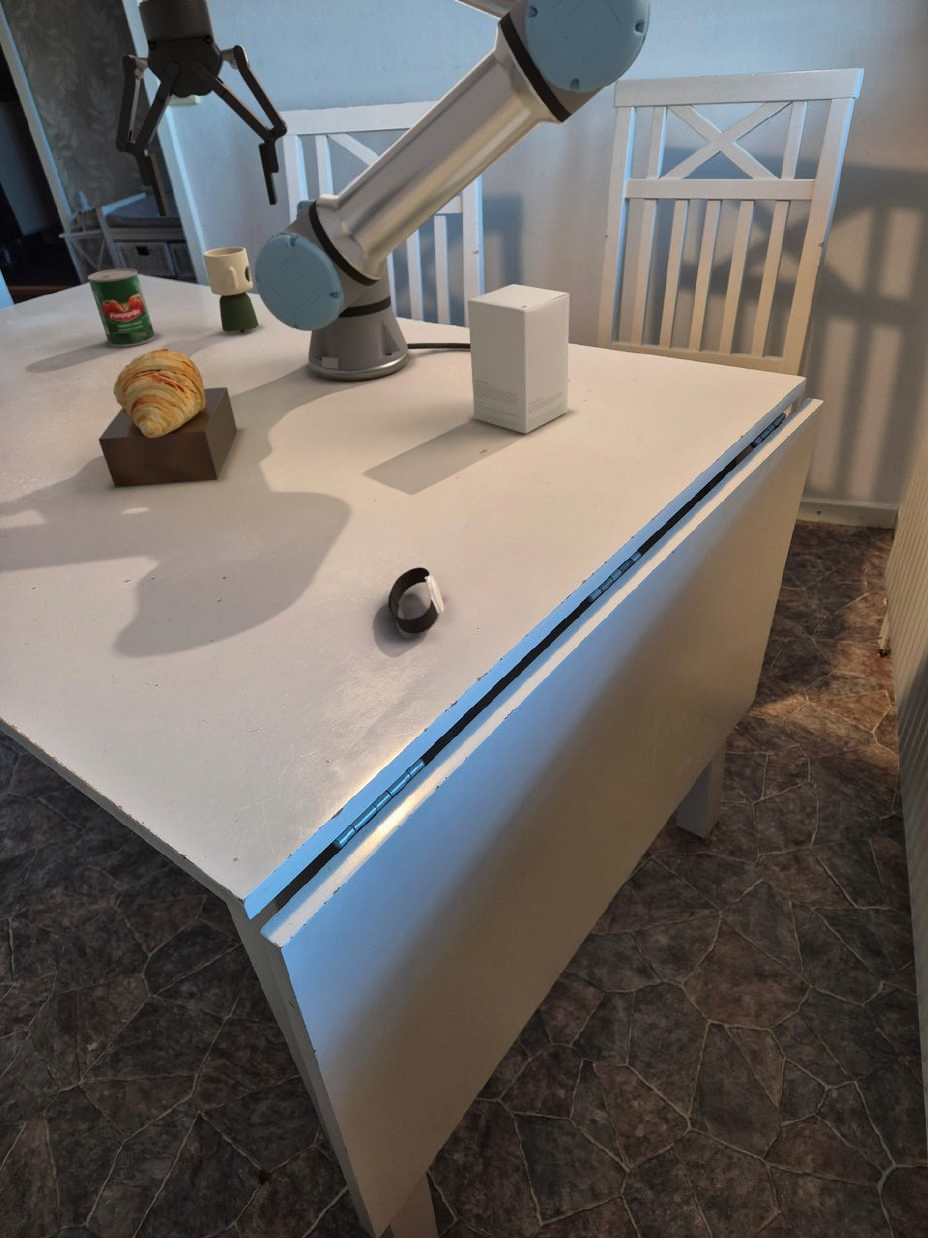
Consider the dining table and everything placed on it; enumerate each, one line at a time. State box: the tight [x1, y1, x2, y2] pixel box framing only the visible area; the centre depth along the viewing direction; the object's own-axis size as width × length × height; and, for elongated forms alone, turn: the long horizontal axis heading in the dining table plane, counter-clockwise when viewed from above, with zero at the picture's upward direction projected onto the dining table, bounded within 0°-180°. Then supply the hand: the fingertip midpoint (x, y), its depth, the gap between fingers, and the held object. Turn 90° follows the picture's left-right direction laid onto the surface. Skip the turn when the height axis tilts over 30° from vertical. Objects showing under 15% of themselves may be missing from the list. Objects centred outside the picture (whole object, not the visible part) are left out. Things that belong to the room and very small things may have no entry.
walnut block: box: [98, 386, 238, 488], centre depth 98 cm, size 12×14×6 cm
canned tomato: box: [87, 267, 156, 348], centre depth 139 cm, size 8×8×11 cm
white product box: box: [467, 283, 570, 434], centre depth 100 cm, size 9×9×15 cm
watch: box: [388, 567, 444, 635], centre depth 70 cm, size 8×5×4 cm, turn 5°
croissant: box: [113, 348, 206, 438], centre depth 95 cm, size 21×10×8 cm, turn 11°
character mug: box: [202, 246, 260, 333], centre depth 139 cm, size 11×7×13 cm, turn 22°
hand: (219, 209), depth 102 cm, fingers open, 13 cm apart
